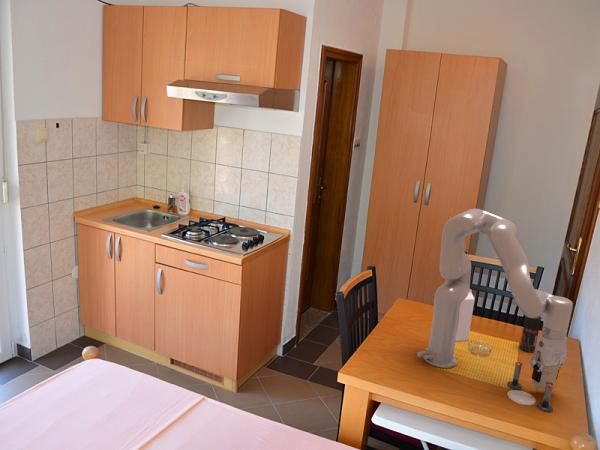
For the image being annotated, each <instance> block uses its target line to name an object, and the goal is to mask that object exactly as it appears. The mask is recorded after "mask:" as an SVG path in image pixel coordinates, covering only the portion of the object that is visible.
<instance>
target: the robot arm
mask: <svg viewBox="0 0 600 450" xmlns="http://www.w3.org/2000/svg"><path fill="white" fill-rule="evenodd" d="M475 233H476V234H477V233H480V234H482V235H485V236H487V239H488V241H489V243H490V245H491V248H492V249H493V252H494V254H495V255H496V257H497V259H498V261H499V263H500V265H501V266H502V268H503V271H504V274H505V278H506V281H507V283H508V287H509V290H510V292H511V295H512V298H513V299H514V301H515V303H516V305H517V307H518V308H519V310H520V312H522V314H523V315H524V316H525V317H526V316H527V317H530V318H537V317H539V316H540V317H541V316H542V315H543V314H545V316H544V319H543V325H542V329H541V334H540V336H539V338H538V339H537V343H536V348H535V352H534V355H533V356H532V357H531V358H530V359H529V364H530V366H531V368H532V369H533V370H532V374H531V380H532V379H533V380H535V381H536V382H540V379H541V375H542V372H541V370H542V368H543V367H544V366H554V365H558V361H559V360H560V365H559V369H558V373H557V378H556V381H557V380H558V377H559V372H560V370H561V369H562V365H563V364H564V363H565V362H566V360H567V359H568V355H567V350H568V349H567V348H568V338H567V334H568V329H569V327H570V325H569V324H570V321H571V320H570V319H571V317H572V316H571V315H572V311H573V307H574V306H573V304H574V303H573V301H572V300H570V299H568V298H567V297H563V296H561V295H560V296H557V295H553V294H551V293H548V292H546V291H544V290H540V289H535V287H534V286H533V283H532V280H531V276H530V264H529V263H530V262H529V260H528V257H527V256H526V253H525V252H524V249H523V248H522V247H521V244H520V242H519V240H518V239H517V236H518V228H517V226H516V225H515V223H514V222H512V221H511V220H509V219H506V218H504V217H501V216H499V215H497V214H493V213H490V212H488V211H486V210H483V209H480V208H470V209H468V210H465V211H464V212H460V213H458V214H456V215H454V216H452V217H451V218H449V219H448V220H447V221H446V222H445V223H444V225H443V228H442V232H441V244H440V255H439V268H438V269H439V274H440V276H441V278H443V279H444V280H445V281H444V283H442V284H441V285H440V286H439V287H438V288H436V291H435V293H434V296H433V297H434V298H433V313H432V321H431V322H432V323H431V330H430V335H429V336H430V337H429V343H428V347H425V350H423V351H417V352H416V354H417V357H418V358H421V357H422V359H423V360H424V361H425V362H426V363H427V364H429V365H431V366H433V367H437V368H443V369H451V368H454V367H455V366H456V365H457V361H458V360H457V359H456V357H455V356H454V354H455V348H456V342H457V341H456V335H457V329H458V322H459V309H460V304H461V303H462V301H463V300H464V299H465V298H466V297H467V296H468V293H469V289H471V288H470V285H471V273H472V261H471V259H470V257H469V255H468V254H467V253H466V252H465V251H466V250H465V249H466V242H465V239H466V237H467V236H470V235H474V234H475ZM539 361H540V362H539ZM538 364H541V365H540V366H539V367H538V366H537V365H538Z"/></svg>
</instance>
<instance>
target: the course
mask: <svg viewBox="0 0 600 450" xmlns="http://www.w3.org/2000/svg"><path fill="white" fill-rule="evenodd" d="M514 366H515V367H514V371H513V375H512V376H513V377H512V381H510V380H509V381H507V383H506V385H507V386H508V387H509V388H510V389H512V390H520V391H522V390H523V385H522V384H521V383H520V376H521V372H522V371H521V370H522V367H523V363H522V362H519V361H515V364H514ZM552 388H553V383H551V382H546V388H545V390H544V394H543V397H542V398H543V399H542V401H541V402H537V403H536V408H537V409H538V410H540V411H541V412H546V413H552V412H554V407H553V406H552V405H550V402H551V396H552V392H553V391H552Z"/></svg>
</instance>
